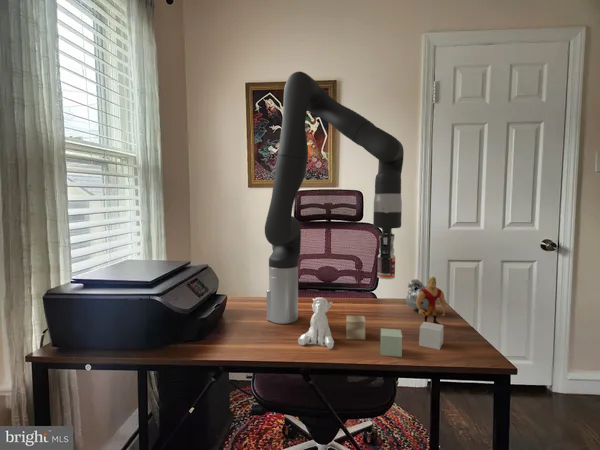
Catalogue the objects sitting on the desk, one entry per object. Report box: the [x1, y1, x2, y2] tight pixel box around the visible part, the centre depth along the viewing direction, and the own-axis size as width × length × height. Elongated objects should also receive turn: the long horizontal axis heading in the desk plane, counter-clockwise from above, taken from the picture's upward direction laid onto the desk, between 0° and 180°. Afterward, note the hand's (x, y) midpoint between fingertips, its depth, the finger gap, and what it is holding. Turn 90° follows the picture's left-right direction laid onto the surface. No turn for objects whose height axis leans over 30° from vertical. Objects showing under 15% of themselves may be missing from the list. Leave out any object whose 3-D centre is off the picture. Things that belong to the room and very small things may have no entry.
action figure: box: [416, 276, 447, 325], centre depth 108 cm, size 10×4×15 cm, turn 97°
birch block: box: [345, 315, 366, 341], centre depth 99 cm, size 5×5×5 cm
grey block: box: [418, 321, 444, 351], centre depth 93 cm, size 5×5×5 cm
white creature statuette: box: [297, 296, 335, 350], centre depth 95 cm, size 10×9×12 cm
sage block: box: [380, 327, 403, 358], centre depth 88 cm, size 5×5×5 cm
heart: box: [405, 278, 429, 311], centre depth 120 cm, size 10×10×12 cm
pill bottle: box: [376, 247, 396, 280], centre depth 98 cm, size 5×5×8 cm
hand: (386, 271), depth 99 cm, fingers closed on pill bottle, 4 cm apart
